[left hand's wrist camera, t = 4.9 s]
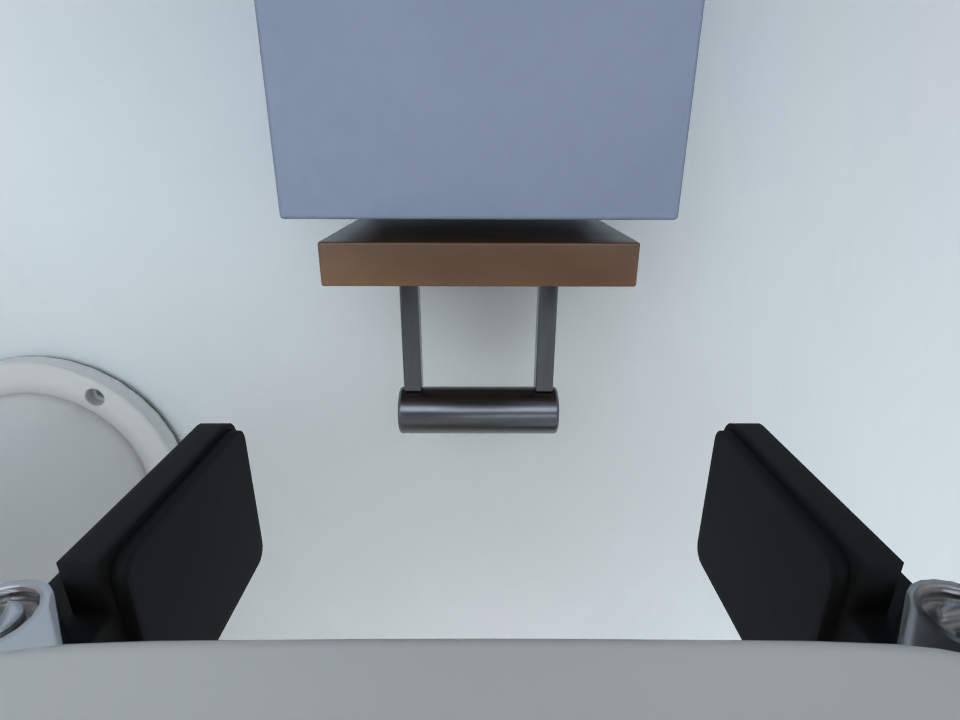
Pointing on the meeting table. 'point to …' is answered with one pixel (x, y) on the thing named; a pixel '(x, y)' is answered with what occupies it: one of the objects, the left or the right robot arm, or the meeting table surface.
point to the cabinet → (479, 107)
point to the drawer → (478, 262)
